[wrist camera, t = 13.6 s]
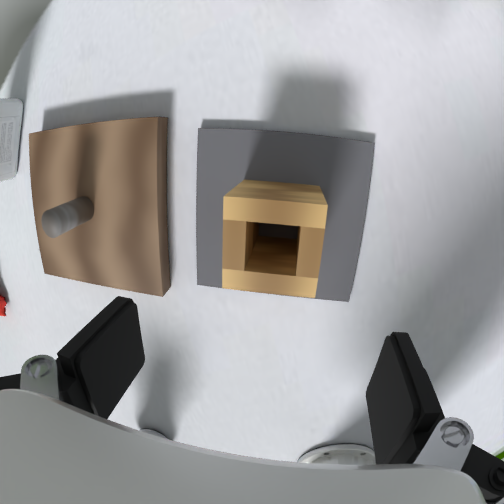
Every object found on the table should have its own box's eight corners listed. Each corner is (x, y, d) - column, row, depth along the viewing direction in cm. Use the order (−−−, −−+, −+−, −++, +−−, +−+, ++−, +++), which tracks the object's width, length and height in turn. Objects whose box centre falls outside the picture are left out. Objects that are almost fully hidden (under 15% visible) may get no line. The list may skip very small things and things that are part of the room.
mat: (372, 142, 22) (374, 143, 21) (347, 298, 27) (348, 301, 27) (200, 128, 24) (198, 128, 23) (199, 281, 29) (197, 284, 28)
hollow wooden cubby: (319, 186, 23) (327, 205, 17) (311, 256, 26) (315, 298, 19) (244, 179, 24) (223, 196, 18) (241, 249, 26) (222, 288, 20)
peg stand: (167, 117, 24) (125, 114, 17) (170, 286, 29) (139, 326, 23) (41, 132, 25) (-6, 139, 19) (54, 266, 31) (17, 292, 25)
